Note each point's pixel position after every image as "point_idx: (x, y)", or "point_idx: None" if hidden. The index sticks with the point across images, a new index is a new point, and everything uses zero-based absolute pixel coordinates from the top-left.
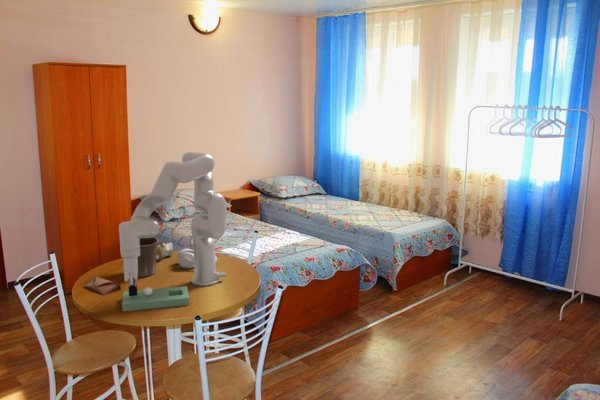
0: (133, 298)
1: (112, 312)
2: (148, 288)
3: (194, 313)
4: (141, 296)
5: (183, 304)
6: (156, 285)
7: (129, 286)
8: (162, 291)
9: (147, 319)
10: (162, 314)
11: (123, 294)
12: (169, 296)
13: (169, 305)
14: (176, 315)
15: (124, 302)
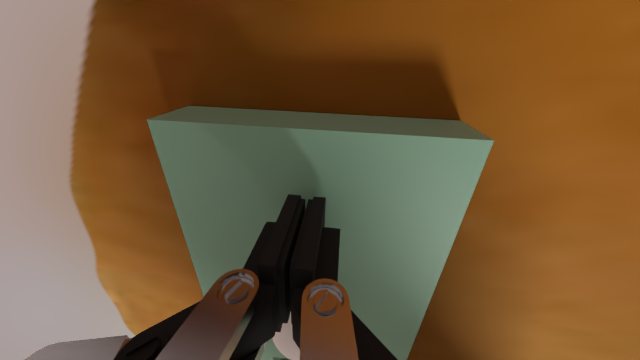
0: (273, 210)
1: (172, 22)
2: (283, 353)
3: None
4: None
5: None
6: (587, 315)
7: (218, 286)
8: None
9: (92, 227)
10: (154, 281)
11: (407, 136)
12: (265, 356)
13: None
14: (148, 314)
15: (189, 141)
